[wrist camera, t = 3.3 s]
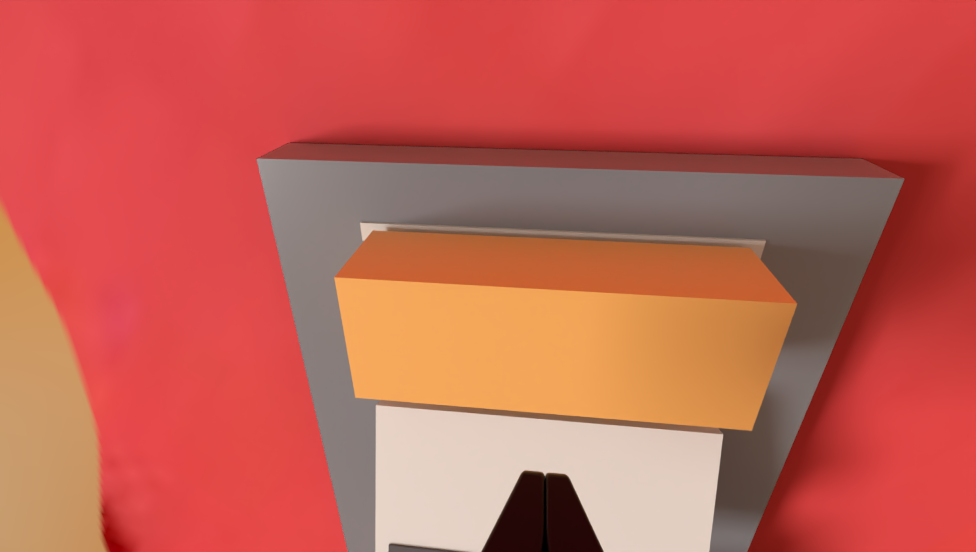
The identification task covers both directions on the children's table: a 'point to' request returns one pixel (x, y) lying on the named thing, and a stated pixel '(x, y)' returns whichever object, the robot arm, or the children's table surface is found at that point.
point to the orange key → (564, 326)
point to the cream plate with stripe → (545, 448)
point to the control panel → (578, 216)
